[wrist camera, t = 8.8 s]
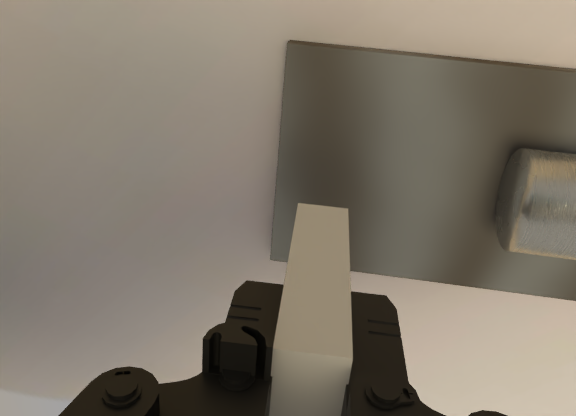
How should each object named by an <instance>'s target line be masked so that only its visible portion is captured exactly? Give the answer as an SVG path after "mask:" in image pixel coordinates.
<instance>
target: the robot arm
mask: <svg viewBox="0 0 576 416" xmlns="http://www.w3.org/2000/svg"><path fill="white" fill-rule="evenodd" d="M59 416H445V415H443V414H441V413H439V412H436V411H434V410H432V409H431V408H429V407H428V406H426V405H425V404H424V403H422V402H421V401H420V399H419V397H418V395H417V392H416V390H415V389H414V388H413V387H412V386H411V385H410V384H409V382H408V377H407V370H406V364H405V358H404V352H403V346H402V339H401V333H400V327H399V321H398V315H397V309H396V308H395V306H394V305H393V304H392V302H391V301H390V300H389V299H388V297H387V296H385V295H376V294H368V293H360V292H351V282H350V251H349V219H348V208H339V207H330V206H321V205H312V204H303V203H298V207H297V212H296V218H295V224H294V229H293V235H292V241H291V247H290V252H289V258H288V264H287V270H286V275H285V281H284V285H281V284H272V283H264V282H255V281H246V282H245V283H243V284H242V285H241V286H240V287H239V288H238V289H237V290H236V291H235V293H234V296H233V299H232V302H231V307H230V308H229V312H228V315H227V318H226V321H225V323H222V324H218V325H217V326H215V327H213V328H212V329H210V330H209V331H208V332H207V334H206V335H205V336H204V338H203V359H202V373H200V374H199V375H197V376H195V377H192V378H190V379H188V380H183V381H178V382H171V383H163V384H158V381H157V380H156V378H155V377H154V375H153V374H151V373H150V372H148V371H146V370H144V369H142V368H135V367H121V368H115V369H112V370H110V371H107V372H104V373H102V374H101V375H99V376H98V377H97V378H95V379H94V380H93V381H91V382H90V383H89V385H88V386H87V387H86V388H85V389H84V390H83V391H82V392H81V393H80V394H79V395H78V396H77V397H76V398H75V399H74V400H73V401H72V402H71V403H70V404H69V405H68V406H67V407H66V408H65V410H64V411H63V412H62V413H61V414H60V415H59ZM469 416H507V415H504V414H501V413H499V412H495V411H484V410H482V411H478V412H474V413H471V414H470V415H469Z"/></svg>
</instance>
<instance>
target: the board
mask: <svg viewBox="0 0 576 416" xmlns="http://www.w3.org/2000/svg"><path fill="white" fill-rule="evenodd" d="M520 148H525V149H534V150H543V151H551V152H560V153H569V154H576V69H569V68H559V67H549V66H539V65H529V64H519V63H510V62H500V61H490V60H480V59H470V58H461V57H451V56H441V55H431V54H421V53H411V52H402V51H392V50H382V49H372V48H362V47H353V46H343V45H333V44H323V43H313V42H304V41H294V40H290V41H289V42H288V43H287V51H286V64H285V77H284V89H283V102H282V115H281V128H280V141H279V153H278V166H277V179H276V192H275V204H274V217H273V230H272V243H271V255H270V260H273V261H281V262H288V258H289V252H290V247H291V241H292V235H293V229H294V224H295V218H296V212H297V207H298V203H303V204H312V205H321V206H330V207H339V208H348V219H349V251H350V271H356V272H363V273H371V274H378V275H386V276H393V277H401V278H408V279H416V280H423V281H430V282H438V283H445V284H453V285H460V286H468V287H475V288H483V289H490V290H498V291H505V292H513V293H520V294H528V295H535V296H543V297H550V298H558V299H565V300H573V301H576V260H571V259H564V258H556V257H548V256H541V255H533V254H526V253H518V252H510V251H505V250H504V249H503V248H502V247H501V245H500V243H499V240H498V237H497V231H496V205H497V197H498V191H499V187H500V183H501V179H502V176H503V173H504V170H505V167H506V165H507V163H508V161H509V159H510V158H511V156H512V155H513V153H514V152H515V151H516V150H518V149H520Z"/></svg>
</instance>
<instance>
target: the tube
mask: <svg viewBox="0 0 576 416" xmlns="http://www.w3.org/2000/svg"><path fill="white" fill-rule="evenodd" d="M496 231H497V237H498V240H499V243H500V245H501V247H502V248H503V249H504V250H505V251H510V252H518V253H526V254H533V255H541V256H548V257H556V258H564V259H571V260H576V154H569V153H560V152H551V151H543V150H534V149H525V148H520V149H518V150H516V151H515V152H514V153H513V155H512V156H511V158H510V159H509V161H508V163H507V165H506V167H505V170H504V173H503V176H502V179H501V183H500V187H499V191H498V197H497V205H496Z"/></svg>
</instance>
